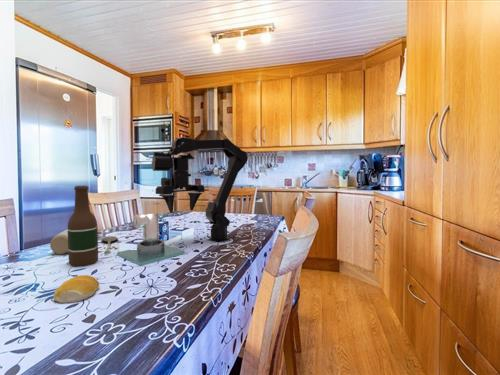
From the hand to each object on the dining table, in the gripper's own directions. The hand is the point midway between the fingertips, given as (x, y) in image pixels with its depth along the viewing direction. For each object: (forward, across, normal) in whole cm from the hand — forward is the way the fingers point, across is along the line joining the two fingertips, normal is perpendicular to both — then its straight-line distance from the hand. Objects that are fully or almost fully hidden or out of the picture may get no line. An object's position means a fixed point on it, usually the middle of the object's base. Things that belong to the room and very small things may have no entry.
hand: (181, 211), depth 102 cm
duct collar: (+13, +14, +2) cm, 19 cm away
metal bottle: (+12, +15, +2) cm, 19 cm away
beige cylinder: (+13, +30, -23) cm, 40 cm away
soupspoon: (+14, +19, -21) cm, 31 cm away
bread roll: (+14, +41, +17) cm, 46 cm away
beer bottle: (+13, +32, -6) cm, 35 cm away
